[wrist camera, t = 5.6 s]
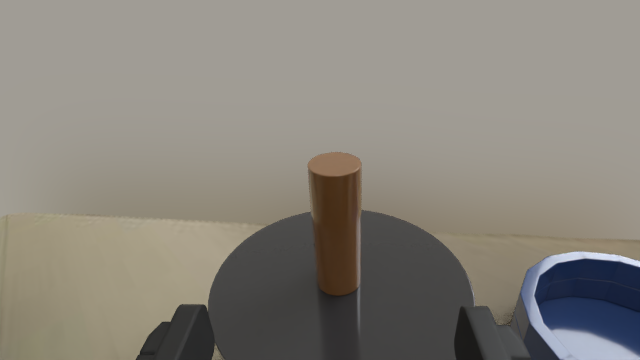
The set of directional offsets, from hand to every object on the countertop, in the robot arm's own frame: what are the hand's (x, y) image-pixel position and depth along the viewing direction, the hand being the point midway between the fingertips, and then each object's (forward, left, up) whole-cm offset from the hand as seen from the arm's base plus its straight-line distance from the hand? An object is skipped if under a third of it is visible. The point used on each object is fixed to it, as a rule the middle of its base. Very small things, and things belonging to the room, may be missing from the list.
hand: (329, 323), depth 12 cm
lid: (+5, +6, -6) cm, 10 cm away
